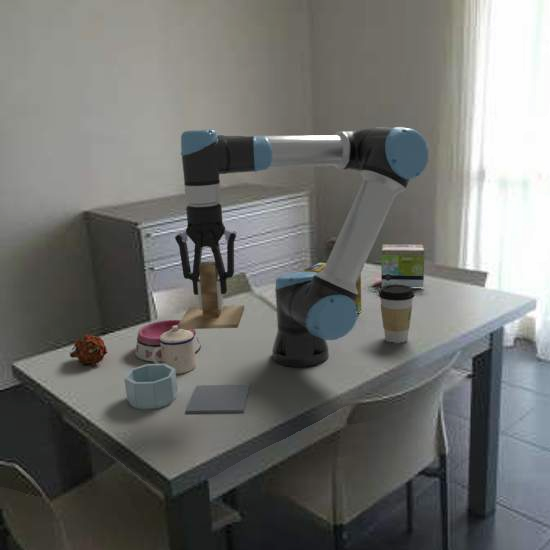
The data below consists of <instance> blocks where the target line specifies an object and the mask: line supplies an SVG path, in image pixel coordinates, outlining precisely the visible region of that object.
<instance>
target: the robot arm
mask: <svg viewBox="0 0 550 550" xmlns="http://www.w3.org/2000/svg"><path fill="white" fill-rule="evenodd" d="M180 147H181V148H180V149H181V151H180V155H181V160H182V161H181V162H182V172H183V182H184V198H185V203H186V204H187V206H186V207H185V208H186V209H185V210H186V220H187V227H186V229H185V231H183V232H182V233H180V232H179V233H178V234H176V236H175V237H174V239H175V241H176V243H177V245H178V247H179V255H180V262H181V267H182V274H183V278H184V279H185V280H187V279H188V280H190V281H192V289H193V291H192V292H193V294H194V295H195V296H196V295H197V296H198V307H199V309H200V310H202V298H201V285H200V273H199V265H200V263H201V262H202V253H203V248H204V247H208V248H210V249H211V252H212V255H213V260H214V261H215V263H216V267H217V271H218V279H217V281H216V283H217V296H218V310H222V308H223V306H224V295H226V293H227V291H228V284H227V283H228V281H227V280H228V279H229V278H230V279H231V278H233V276H234V273H235V242H236V241H235V240H236V238H237V232H236V231H231V230H228V229H226V227H225V225H224V223H223V211H222V205H221V203H220V202H221V200H222V197H221V196H222V195H221V185H220V184H221V180H220V175H226V174H236V173H237V174H239V173H247V172H248V173H250V172H251V173H252V172H255V173H257V172H260V171H266V170H268V169H269V168H285V167H287V168H290V167H292V168H293V167H331V166H332V167H333V166H334V167H335V169H337V170H351V171H358V172H360V175H361V177H362V183H361V185H360V188H359V190H358V192H357V194H356V196H355V198H354V201H353V202H352V205H351V208H350V209H349V213H348V214H347V217H346V219H345V221H344V223H343V225H342V227H341V229H340V232H339V235H338V237H337V239H336V241H335V243H334V245H333V248H332V250H331V252H330V254H329V257H328V258H327V261H326V262H325V263H326V265H325V268H324V270H323V271H321V272H319V273H316V272H304V271H299V272H289V273H285V274H281V275H279V276H278V277H277V278H276V279H275V288H274V291H275V303H276V319H277V320H276V321H277V322H276V323H277V332H276V336H275V339H274V342H273V346H272V359H273V360H274V362H275V363H277V364H279V365H282V366H285V367H293V368H302V367H312V366H316V365H319V364H321V363H323V362H325V361H327V360H328V358H329V356H330V355H329V354H330V353H329V345H328V343H327V341H335V340H338V339H341V338H343V337H344V336H347V334H349V333H350V331H352V329H353V328H354V326H355V325H356V322H357V319H358V315H357V311H356V309H357V307H356V305H355V303H354V302H355V300H356V298H357V295H358V291H357V289H356V282H357V280H358V278H359V276H360V274H361V275H362V271H363V269H364V266H365V265H366V263H367V260H368V258H369V256H370V253H371V251H372V249H373V246H374V244H375V242H376V240H377V238H378V236H379V233H380V232H381V228H383V224H384V222H385V220H386V217H387V216H388V213H389V211H390V209H391V207H392V204H393V203H394V200H395V198H396V196H397V195H398V194H401V193H403V192H405V191H406V188H407V186H408V184H409V182H410V180H413V179H414V178H417V177H419V176H420V175H421V174H422V173H423V172H424V171H425V169H426V167H427V165H428V161H429V148H428V146H427V141H426V139H425V138H424V136H423V135H422V134H421V133H420V132H419V131H417V130H415V129H414V128H411V127H410V128H409V127H408V128H407V127H405V126H397V127H380V126H378V127H375V126H374V127H367V128H361V129H353V130H346V131H345V130H343V131H341V130H340V131H339V130H338V131H336V133H335V134H333V135H325V134H321V135H320V134H319V135H314V134H313V135H311V134H310V135H308V134H307V135H304V134H303V135H225V134H224V135H222V134H219V135H217V131H216V130H215V129H194V130H193V129H192V130H191V129H190V130H185V131H183V133H182V134H181V136H180ZM223 236H224V237H225V241H226V242H227V243H226V244H227V245H226V248H227V249H226V256H227V257H226V259H227V260H226V268H227V269H226V268H225V264H224V261H223V256H222V253H221V250H220V249H221V248H220V244H219V242H220V241H221V239H222V237H223ZM188 238H189V239H190V240H191V242H193V244H194V250H193V251H194V254H193V263H192V264H193V265H192V270H191V265H190V264H191V263H190V257H189V250H188V245H187V241H188Z"/></svg>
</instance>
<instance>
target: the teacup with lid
mask: <svg viewBox="0 0 550 550" xmlns="http://www.w3.org/2000/svg"><path fill="white" fill-rule="evenodd" d="M159 341H160V344H161V346H160V347H157V348H156V349H154V351H153V352H152V359H153V361H154V363H153V364H167V365H169V366H171V367H173V368H175V370H176V375H178V374H186V373H188V372H191V371H193V370H194V369H195V368H196V366H197V365H196V364H197V363H196V354H195V350H194V334H193V333H192V332H191V331H189V330H184V329H178V325H175V326H173V327H172V329H171V330H169V331H168V332H165V333H163V334H162V335H161V336H160V338H159ZM160 350H161V354H162V362H158V361H157V360H156V353H157V352H158V351H160Z"/></svg>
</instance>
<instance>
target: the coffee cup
mask: <svg viewBox="0 0 550 550" xmlns="http://www.w3.org/2000/svg"><path fill="white" fill-rule="evenodd" d="M378 297H379V298H380V310H381V319H382V328H383V329H384V339H386V340H387V341H386V340H385V341H386V342H388V341H389V342H388V343H390V342H394V343H393V344H401V343H400V342H403V343H406V342H407V341H408V339H409V329H410V325H411V319H412V311H413V310H412V309H413V298H414V297H415V292H414V291H413V289H412V288H411V287H409V286H406V285H387V286H383V287H382V286H381V288H380V291H379V292H378ZM405 341H406V342H405Z"/></svg>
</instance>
